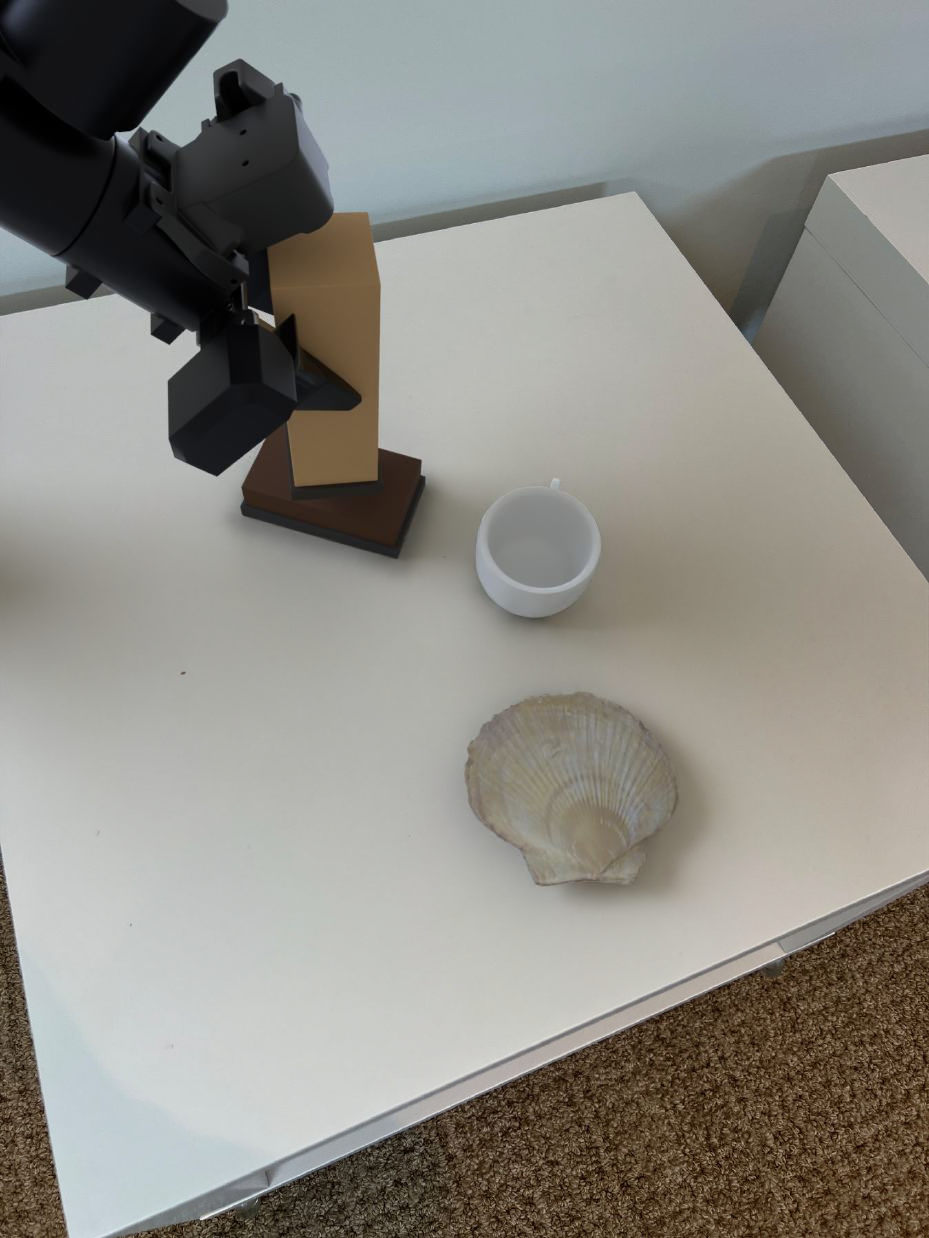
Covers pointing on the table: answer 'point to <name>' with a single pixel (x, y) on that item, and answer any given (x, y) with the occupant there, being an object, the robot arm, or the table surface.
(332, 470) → the tan block on base
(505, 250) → the table surface
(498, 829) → the seashell
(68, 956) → the table surface
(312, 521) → the brown slab
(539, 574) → the teacup
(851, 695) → the table surface
